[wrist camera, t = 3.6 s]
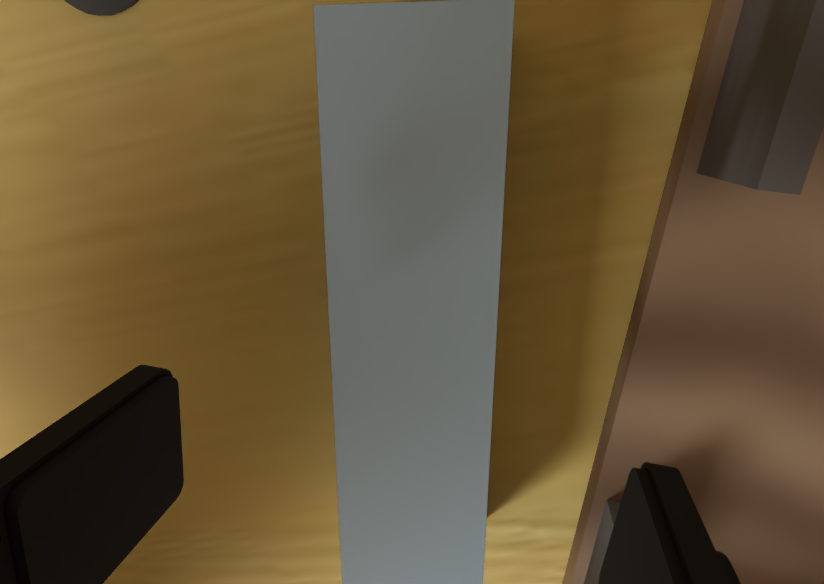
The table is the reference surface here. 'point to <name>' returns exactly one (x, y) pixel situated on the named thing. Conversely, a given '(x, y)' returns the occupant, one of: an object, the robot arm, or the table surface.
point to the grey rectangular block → (413, 275)
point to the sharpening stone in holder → (732, 308)
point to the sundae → (101, 6)
